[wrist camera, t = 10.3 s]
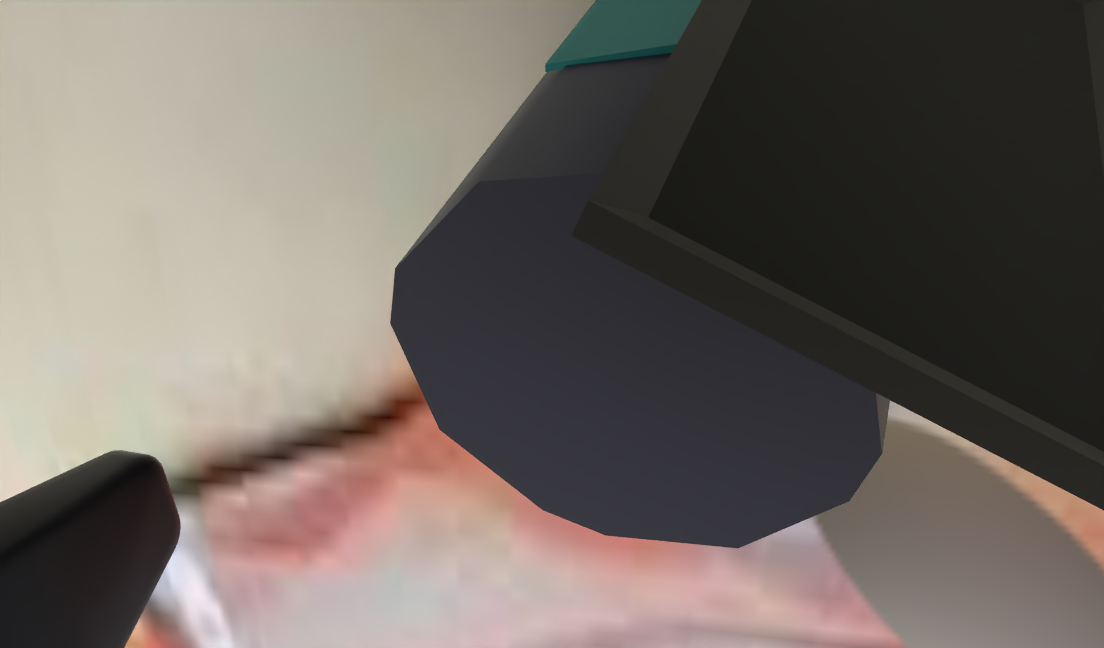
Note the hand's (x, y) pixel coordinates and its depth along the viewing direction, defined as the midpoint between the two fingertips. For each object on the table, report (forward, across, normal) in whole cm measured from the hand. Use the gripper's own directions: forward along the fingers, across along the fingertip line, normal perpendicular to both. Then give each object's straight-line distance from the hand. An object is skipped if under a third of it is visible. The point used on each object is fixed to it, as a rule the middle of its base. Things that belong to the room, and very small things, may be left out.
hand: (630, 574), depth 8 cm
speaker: (+12, 0, 0) cm, 12 cm away
